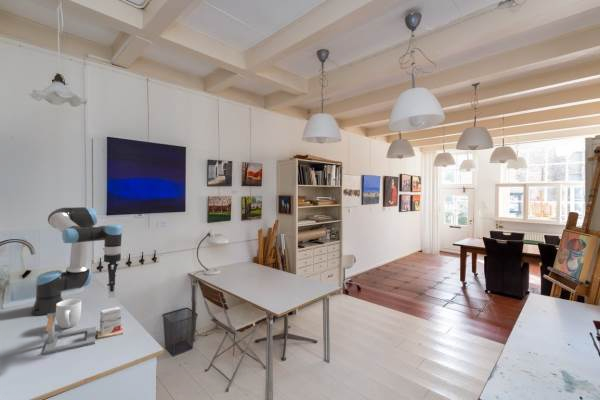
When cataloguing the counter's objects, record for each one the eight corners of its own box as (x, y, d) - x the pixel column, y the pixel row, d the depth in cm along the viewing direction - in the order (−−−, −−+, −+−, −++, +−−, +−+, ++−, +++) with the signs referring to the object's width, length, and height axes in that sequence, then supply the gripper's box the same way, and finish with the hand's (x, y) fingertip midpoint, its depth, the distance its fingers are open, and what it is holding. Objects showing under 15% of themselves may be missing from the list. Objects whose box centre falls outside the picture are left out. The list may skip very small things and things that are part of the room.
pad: (97, 330, 153) (97, 328, 153) (121, 325, 160) (121, 324, 160) (97, 339, 144) (97, 337, 144) (122, 334, 151) (122, 332, 151)
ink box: (118, 326, 156) (119, 305, 156) (120, 330, 153) (121, 308, 153) (99, 331, 150) (100, 309, 150) (101, 335, 147) (102, 312, 146)
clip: (56, 314, 139) (56, 311, 139) (52, 330, 125) (53, 326, 125) (47, 316, 137) (47, 313, 137) (43, 332, 123) (43, 328, 123)
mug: (79, 330, 152) (80, 306, 152) (52, 335, 146) (53, 310, 146) (81, 319, 164) (82, 297, 164) (57, 323, 158) (57, 300, 158)
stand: (49, 337, 144) (50, 310, 144) (95, 328, 155) (96, 303, 155) (43, 354, 129) (44, 325, 129) (94, 343, 140) (95, 316, 140)
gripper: (104, 249, 159) (102, 286, 160) (103, 259, 139) (102, 302, 139) (119, 248, 163) (118, 284, 164) (122, 258, 143) (120, 299, 144)
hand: (111, 293), depth 152 cm, fingers open, 13 cm apart
